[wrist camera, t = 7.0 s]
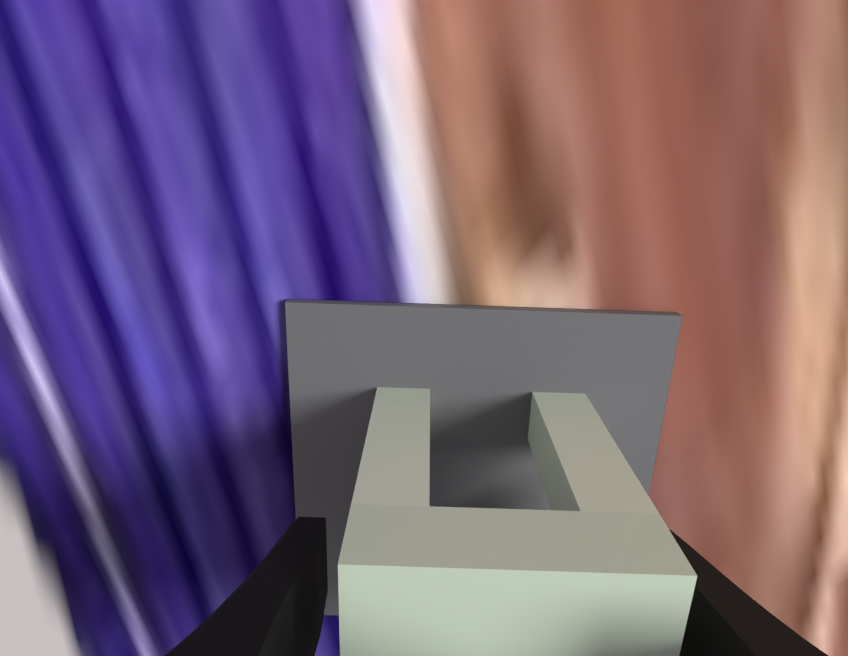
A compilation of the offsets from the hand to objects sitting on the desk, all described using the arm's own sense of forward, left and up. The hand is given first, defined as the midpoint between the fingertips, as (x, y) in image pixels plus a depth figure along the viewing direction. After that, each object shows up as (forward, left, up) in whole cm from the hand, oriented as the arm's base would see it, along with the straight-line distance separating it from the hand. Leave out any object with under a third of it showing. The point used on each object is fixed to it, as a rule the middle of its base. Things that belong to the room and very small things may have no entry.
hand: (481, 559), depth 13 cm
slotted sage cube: (0, 0, -3) cm, 3 cm away
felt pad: (0, 0, -3) cm, 3 cm away
